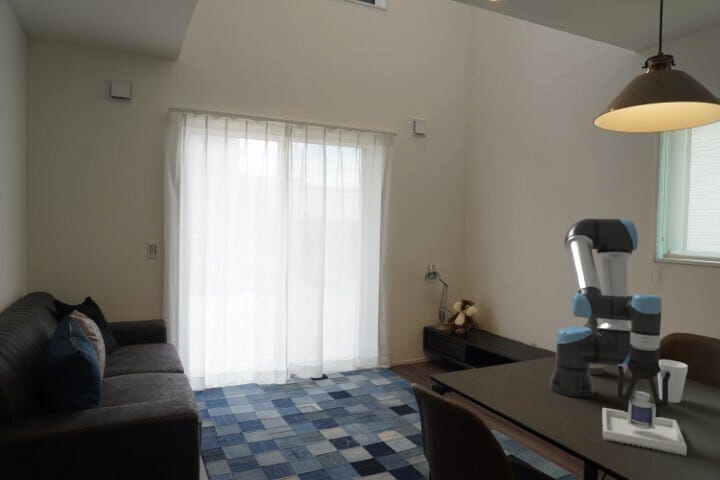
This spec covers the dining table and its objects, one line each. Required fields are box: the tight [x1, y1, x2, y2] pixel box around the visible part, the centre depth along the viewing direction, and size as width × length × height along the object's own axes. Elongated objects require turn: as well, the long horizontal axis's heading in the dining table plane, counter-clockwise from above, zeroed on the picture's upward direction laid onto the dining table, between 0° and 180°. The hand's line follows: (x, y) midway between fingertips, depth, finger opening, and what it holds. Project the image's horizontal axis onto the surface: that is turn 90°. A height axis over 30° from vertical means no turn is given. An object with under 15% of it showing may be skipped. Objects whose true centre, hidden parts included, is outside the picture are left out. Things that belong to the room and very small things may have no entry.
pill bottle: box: [631, 390, 653, 429], centre depth 142 cm, size 5×5×10 cm
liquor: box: [582, 318, 605, 376], centre depth 203 cm, size 9×9×30 cm
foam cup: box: [656, 359, 688, 404], centre depth 172 cm, size 10×9×13 cm
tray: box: [601, 407, 688, 456], centre depth 143 cm, size 20×20×2 cm
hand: (640, 425), depth 143 cm, fingers closed on pill bottle, 5 cm apart
